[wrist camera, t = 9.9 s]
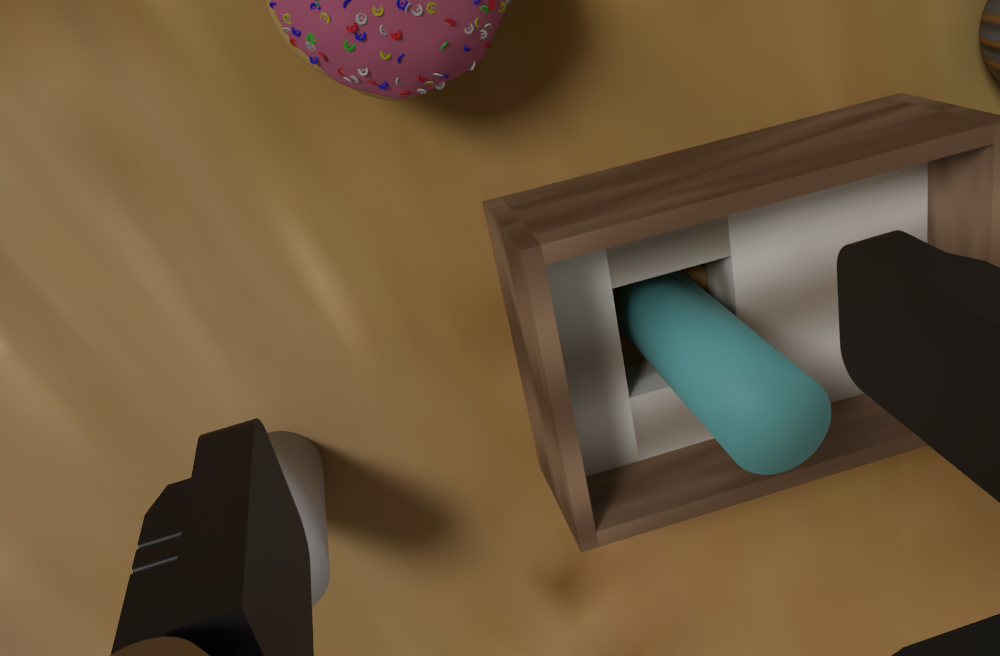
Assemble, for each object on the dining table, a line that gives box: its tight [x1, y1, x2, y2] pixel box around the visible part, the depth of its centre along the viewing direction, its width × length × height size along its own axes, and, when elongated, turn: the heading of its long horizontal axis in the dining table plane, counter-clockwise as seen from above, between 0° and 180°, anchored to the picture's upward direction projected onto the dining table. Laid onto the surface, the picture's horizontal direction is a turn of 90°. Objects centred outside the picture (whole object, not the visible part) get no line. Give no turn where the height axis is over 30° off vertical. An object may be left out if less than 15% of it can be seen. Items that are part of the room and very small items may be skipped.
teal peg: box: [615, 270, 831, 475], centre depth 37 cm, size 4×4×12 cm
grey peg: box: [267, 431, 330, 606], centre depth 38 cm, size 4×4×8 cm
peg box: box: [483, 93, 1000, 552], centre depth 39 cm, size 14×20×7 cm
